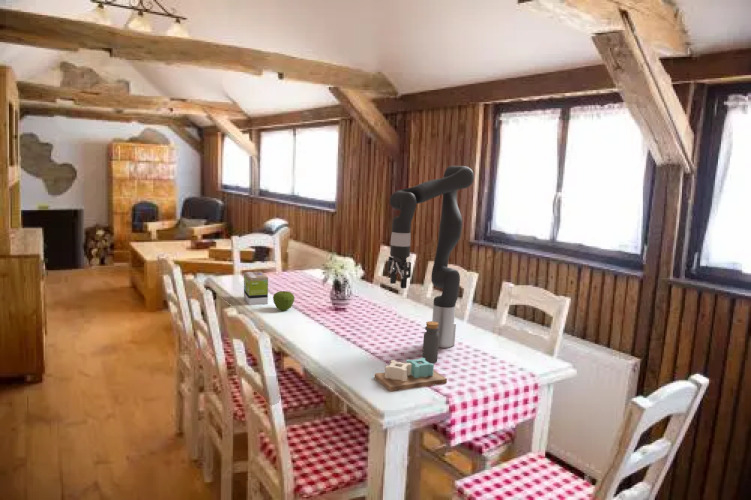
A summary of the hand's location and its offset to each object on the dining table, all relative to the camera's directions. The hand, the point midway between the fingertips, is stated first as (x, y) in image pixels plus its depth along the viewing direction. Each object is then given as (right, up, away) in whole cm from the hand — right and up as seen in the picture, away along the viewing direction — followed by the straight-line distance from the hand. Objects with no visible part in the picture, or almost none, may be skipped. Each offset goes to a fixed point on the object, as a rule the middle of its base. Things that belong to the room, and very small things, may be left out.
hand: (398, 285), depth 203 cm
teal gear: (+7, -30, -17) cm, 35 cm away
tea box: (-72, -14, +76) cm, 106 cm away
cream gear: (-1, -30, -21) cm, 37 cm away
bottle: (+12, -29, +1) cm, 32 cm away
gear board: (+3, -32, -20) cm, 37 cm away
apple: (-55, -17, +62) cm, 84 cm away
